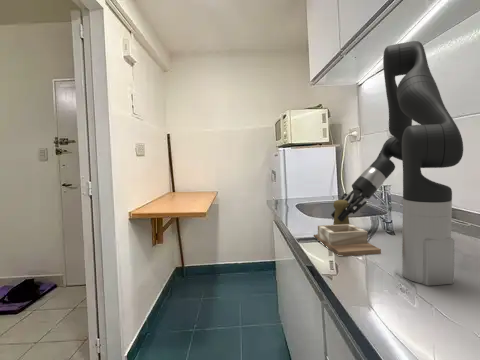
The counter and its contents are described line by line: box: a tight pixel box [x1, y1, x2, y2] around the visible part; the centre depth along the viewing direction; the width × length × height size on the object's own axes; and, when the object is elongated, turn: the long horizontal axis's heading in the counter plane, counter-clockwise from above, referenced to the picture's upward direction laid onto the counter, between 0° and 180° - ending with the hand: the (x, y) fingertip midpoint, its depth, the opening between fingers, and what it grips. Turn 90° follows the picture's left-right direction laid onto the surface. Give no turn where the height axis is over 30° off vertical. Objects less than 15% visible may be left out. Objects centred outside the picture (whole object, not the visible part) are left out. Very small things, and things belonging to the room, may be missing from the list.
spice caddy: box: [313, 223, 382, 257], centre depth 100 cm, size 20×12×5 cm, turn 7°
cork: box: [332, 199, 350, 225], centre depth 116 cm, size 6×6×11 cm
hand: (336, 218), depth 116 cm, fingers closed on cork, 4 cm apart
